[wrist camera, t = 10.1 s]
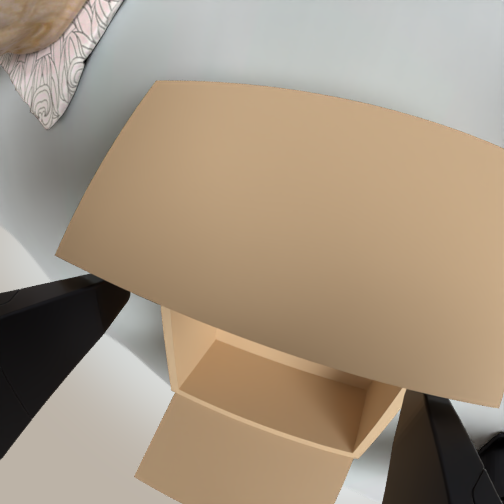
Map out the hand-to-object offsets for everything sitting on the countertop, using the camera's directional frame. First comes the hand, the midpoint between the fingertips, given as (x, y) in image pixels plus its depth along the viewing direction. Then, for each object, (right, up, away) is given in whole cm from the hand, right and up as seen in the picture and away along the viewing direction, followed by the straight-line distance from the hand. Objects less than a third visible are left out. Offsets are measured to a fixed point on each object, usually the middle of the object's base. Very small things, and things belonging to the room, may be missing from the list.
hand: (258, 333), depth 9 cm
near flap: (+1, +3, -1) cm, 4 cm away
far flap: (-1, -12, +8) cm, 14 cm away
